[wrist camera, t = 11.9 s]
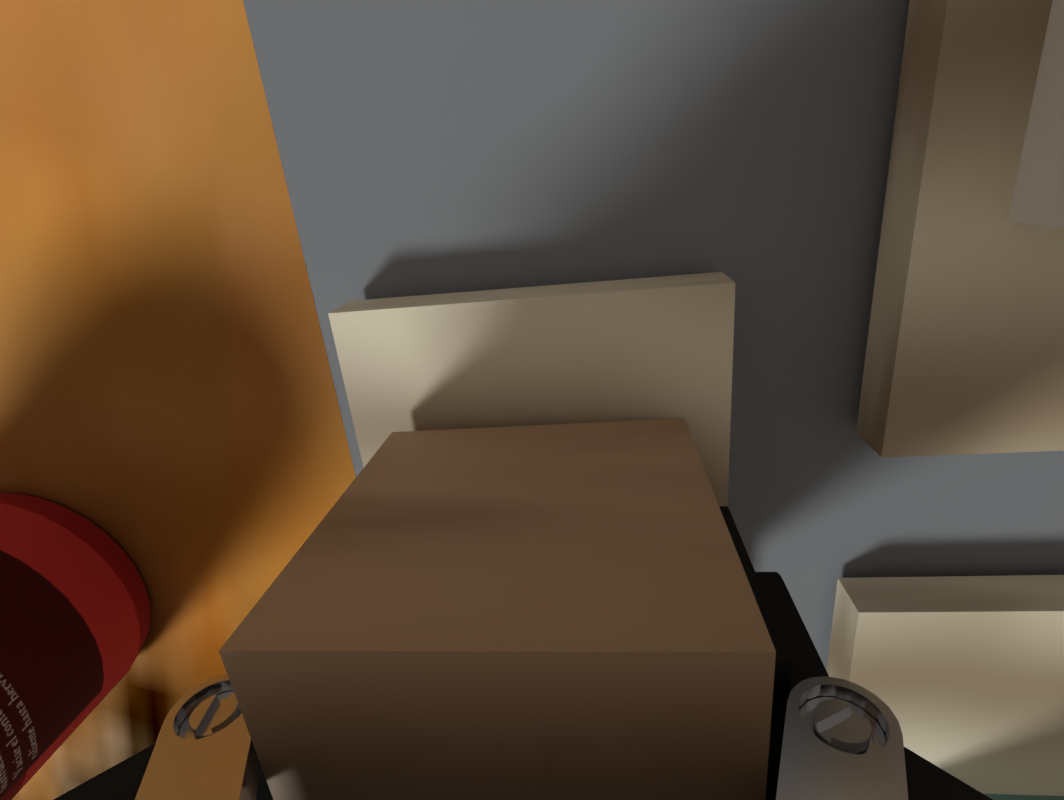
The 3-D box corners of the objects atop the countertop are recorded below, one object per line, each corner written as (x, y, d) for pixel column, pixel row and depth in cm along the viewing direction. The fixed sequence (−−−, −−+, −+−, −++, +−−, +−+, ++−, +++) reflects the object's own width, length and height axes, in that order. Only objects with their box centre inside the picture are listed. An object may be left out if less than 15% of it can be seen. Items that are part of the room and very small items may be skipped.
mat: (1027, 965, 21) (1047, 1001, 20) (475, 931, 24) (470, 961, 23) (1637, -577, 8) (1779, -678, 7) (206, -271, 10) (169, -313, 9)
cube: (684, 654, 13) (751, 994, 8) (435, 653, 14) (333, 964, 9) (684, 417, 11) (776, 651, 6) (391, 431, 12) (218, 651, 6)
